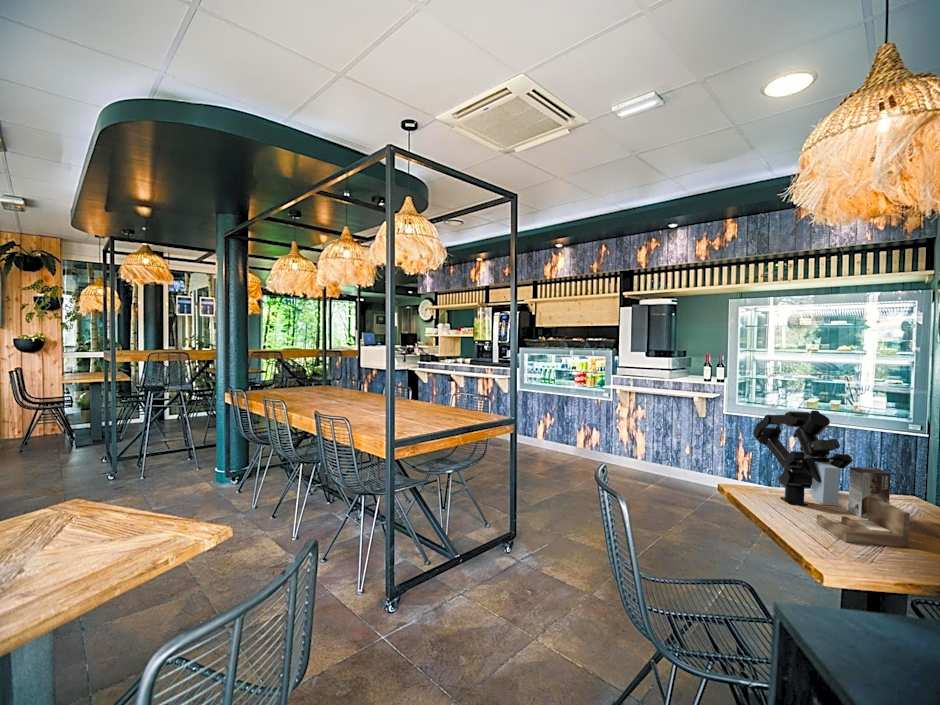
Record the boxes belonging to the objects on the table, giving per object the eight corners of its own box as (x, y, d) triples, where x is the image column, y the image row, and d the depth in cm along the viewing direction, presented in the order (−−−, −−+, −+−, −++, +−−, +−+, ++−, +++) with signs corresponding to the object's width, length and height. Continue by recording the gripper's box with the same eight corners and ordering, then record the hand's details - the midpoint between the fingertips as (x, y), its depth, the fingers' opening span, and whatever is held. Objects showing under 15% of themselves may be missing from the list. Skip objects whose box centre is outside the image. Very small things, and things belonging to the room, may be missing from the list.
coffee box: (874, 512, 160) (876, 467, 159) (889, 519, 153) (892, 473, 153) (846, 510, 160) (849, 466, 160) (860, 518, 154) (863, 471, 153)
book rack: (816, 523, 148) (817, 493, 148) (872, 527, 146) (874, 497, 146) (845, 542, 135) (847, 509, 134) (907, 546, 133) (909, 513, 132)
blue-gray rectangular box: (811, 496, 154) (813, 462, 154) (825, 497, 154) (827, 463, 153) (822, 503, 148) (824, 467, 148) (837, 504, 148) (839, 468, 147)
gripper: (791, 428, 155) (809, 469, 145) (850, 431, 153) (873, 472, 142) (777, 445, 163) (793, 485, 153) (833, 447, 161) (853, 488, 150)
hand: (828, 482), depth 149 cm, fingers closed on blue-gray rectangular box, 4 cm apart
